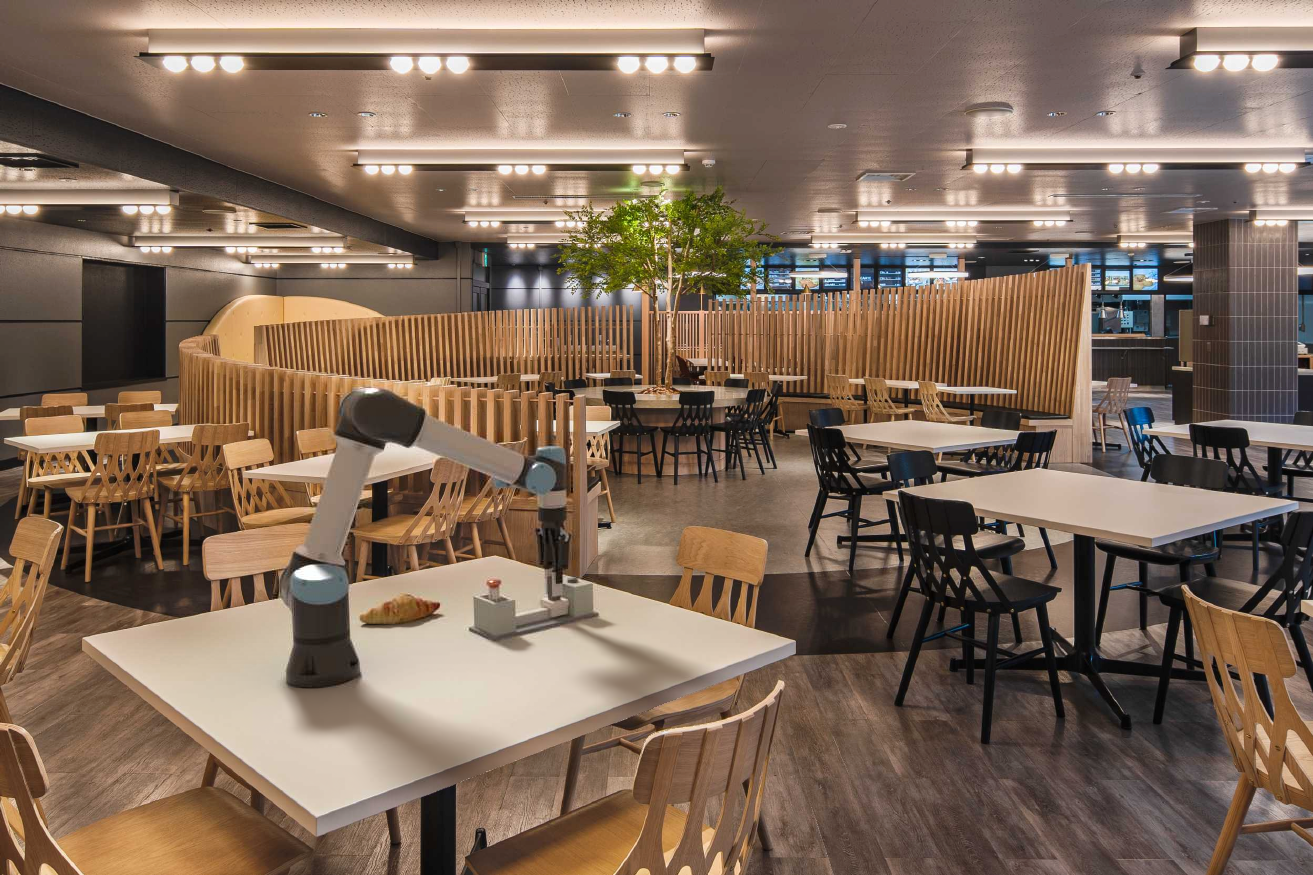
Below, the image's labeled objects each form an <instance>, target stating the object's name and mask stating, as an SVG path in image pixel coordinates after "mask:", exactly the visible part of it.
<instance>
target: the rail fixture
mask: <svg viewBox="0 0 1313 875" xmlns="http://www.w3.org/2000/svg"><path fill="white" fill-rule="evenodd" d="M562 589H563V595H561V597H562V598H565V599H568V600H569V606H568V614H564V615H560V616H556V617H550V608H547V607H543V608H541V607H540V608H539V607H538V608H536V609H535V608H534V609H530V610H526V611H522V612H517V611H516V599H515V598H512V597H509V596H506V595H503V594H501V593H499V599H500V602H496V603H495V602H493V601H490V600H489V592H488V593H483V594H478V595H473V620H474V621H473V626H472V625H471V626H469V627H468V631H469V632H471V633H474V634H477V635H478V636H481V637H483V638H486V639H488V640H490V641H493V642H495V641H497V642H498V641H500V640H504V639H509V638H512V637H517V636H521V635H525V634H529V633H533V632H537V631H542V630H545V629H546V630H547V629H549V628H553V627H558V626H563V625H567V624H570V623H575V622H579V621H583V620H586V619H591V618H595V617H599V616H600V614H599V612H598V611H594V583H593V582H590V581H587V580H584V579H580V578H578V577H573V576H568V577H563V583H562ZM516 612H517V613H516Z"/></svg>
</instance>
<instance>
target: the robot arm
mask: <svg viewBox="0 0 1313 875" xmlns="http://www.w3.org/2000/svg"><path fill="white" fill-rule="evenodd" d="M334 431H335V432H334V434H333V438H334V440H335V442H336V443H337V446H336V449H335V452H334V455H333V458H332V461H331V465H330V466H329V469H328V473H327V476H326V478H325V482H324V485H323V487H322V490H321V493H320V496H319V499H318V501H317V504H316V507H315V509H314V513H313V516H312V519H311V522H310V525H309V528H308V530H307V533H306V535H305V539H304V541H303V544H301V545H300V546H298V547H296V548H294V549H293V552H292V556H291V558H290V560H289V561H290V562H289V564H288V565H286V567H284V569H283V571H282V573H281V575H280V577H279V581H278V592H279V595H280V598H281V600H282V601H283V603H284V604H285V605H286V606H287V608H288V609H289V611H290V612H291V621H292V637H293V638H292V639H293V640H292V649H291V651H290V655H289V658H288V662H287V664H286V668H285V679H286V680H285V681H286V683H287V684H289V685H291V686H293V687H298V688H323V687H329V686H335V685H338V684H339V685H340V684H342V683H346V682H348V681H351V680H353V679H354V678H356V677H358V676H359V674H360V673H361V665H360V664H361V663H360V659H359V656H358V653H357V651H356V649H355V646H354V644H353V641H352V638H351V624H350V621H351V620H350V600H349V599H350V596H349V594H350V592H349V589H350V582H349V578H348V573H347V571H346V570H345V566H346V565H345V564H346V561H345V560H344V557H343V555H342V553H343V549H344V547H345V545H346V542H347V538H348V536H349V533H350V529H351V527H352V523H353V522H354V518H355V515H356V512H357V508H358V505H359V504H360V501H361V497H362V494H363V491H364V488H365V485H366V482H367V480H368V477H369V474H370V471H371V468H372V466H373V461H374V459H375V457H376V456H377V455H379V454H380V453H383V452H384V450H385V448H386V445H387V442H388V443H391V444H395V445H399V446H402V447H404V448H406V449H411V448H413V447H416V448H418V449H421V450H424V451H426V452H429V453H432V454H434V455H436V456H439V457H442V458H444V459H446V460H449V461H452V462H454V463H456V464H460V465H461V466H465V467H467V468H468V469H469V468H470V469H472V470H474V471H476V472H480V473H482V474H484V475H486V476H490V478H491V482H492V483H493V485H494V487H496V488H497V489H498V488H499V489H500V488H501V489H502V488H505V489H507V488H516V489H519V490H523V491H526V492H529V493H531V494H533V495H537V499H536V500H537V506H538V507H537V520H538V521H539V522H540V523H541V525H540V527H537V528H535V529H534V531H535V535H536V541H537V553H538V563H539V566H542V568H543V569H544V580H545V581H544V582H545V595H548V583H547V577H550V576H552V596H554V597H555V596H559V595H563V589H562V583H563V578H564V576H563V575H564V571H566V570H568V569H569V560H570V541H571V538H572V534H571V533H568V532H566V530H565V529H566V528H565V526H564V522H566V521H567V519H568V515H567V514H568V508H567V506H566V505H567V459H566V458H567V456H566V450H565V448H563V447H562V446H556V445H555V446H554V445H553V446H551V445H550V446H549V445H548V446H547V445H546V446H538V447H537V448H536V452H535V454H534V455H529V456H528V455H527V456H526V455H523V454H521V453H518V452H516V451H515V450H512V449H510V448H507V447H504V446H503V445H500V444H497V443H496V442H493V441H490V440H488V439H485V438H483V437H481V436H478V435H476V434H474V433H471V432H469V431H467V430H464V429H461V428H459V427H457V426H455V425H453V424H450V423H447V422H445V421H443V420H441V419H439V418H435V417H433V416H430V415H429V414H428V412H427V410H426V408H423V407H422V406H419V405H417V404H415V403H413V402H410V401H409V400H407V399H405V398H403V397H401V396H400V395H399V394H396V393H395V392H393V391H390V390H388V389H386V388H381V387H380V388H379V387H373V386H362V387H358V388H355V389H352V391H349V393H346V395H345V396H344V397H343V399H342V400H341V402H340V404H339V408H338V423H337V426H336V428H335V430H334Z"/></svg>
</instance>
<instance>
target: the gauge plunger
mask: <svg viewBox="0 0 1313 875" xmlns="http://www.w3.org/2000/svg"><path fill="white" fill-rule="evenodd" d="M500 585H502V580H501V579H498V578H497V579H496V578H494V579H492V578H491V579H488V580H486V586H488V593H489V600H490V601H493V602H495V603H496V602H500V599H499V594H500Z"/></svg>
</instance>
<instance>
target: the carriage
mask: <svg viewBox="0 0 1313 875" xmlns="http://www.w3.org/2000/svg"><path fill="white" fill-rule="evenodd" d="M547 583H548V594H547V597H542V598H540V599H539V605H540V608H543V607H547V608H550V617H556V616H560V615H564V614H568V606H569V600H568V599H565V598H562V597H561V595H559V596H555V597H554V596H552V576H550V577H547Z"/></svg>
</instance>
